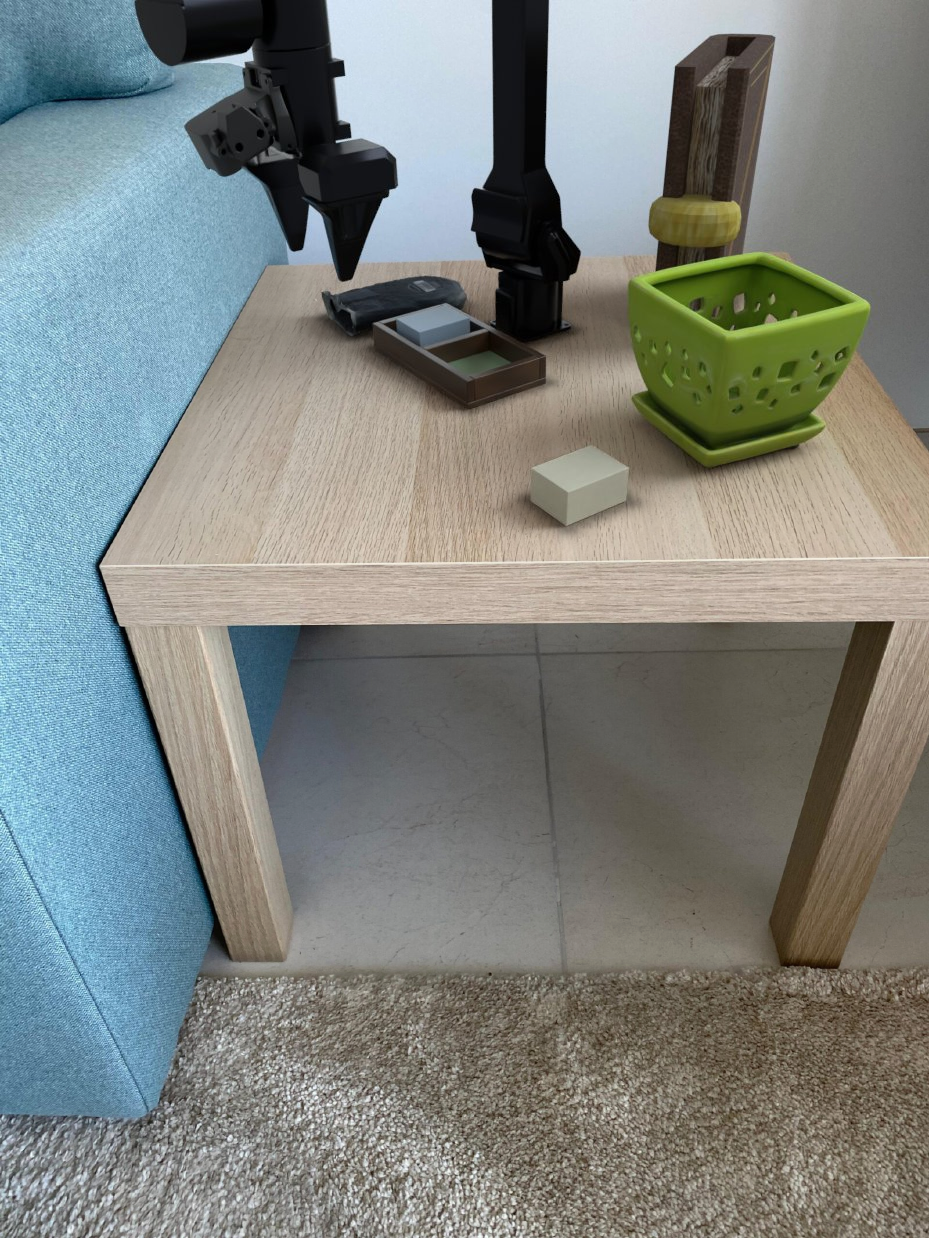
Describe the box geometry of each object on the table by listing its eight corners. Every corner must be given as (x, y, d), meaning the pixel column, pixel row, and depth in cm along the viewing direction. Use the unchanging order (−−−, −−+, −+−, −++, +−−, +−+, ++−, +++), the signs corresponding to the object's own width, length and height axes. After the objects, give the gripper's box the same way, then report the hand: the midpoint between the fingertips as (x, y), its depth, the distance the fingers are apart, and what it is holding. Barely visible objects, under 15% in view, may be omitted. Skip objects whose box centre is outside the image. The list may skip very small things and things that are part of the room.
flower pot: (612, 416, 84) (622, 274, 76) (740, 386, 88) (764, 248, 80) (701, 489, 74) (725, 334, 66) (842, 451, 78) (881, 300, 70)
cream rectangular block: (589, 477, 76) (591, 444, 74) (626, 501, 73) (629, 467, 71) (530, 501, 74) (530, 467, 72) (566, 526, 71) (567, 492, 69)
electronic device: (360, 356, 99) (482, 309, 103) (345, 305, 96) (471, 258, 100) (331, 338, 107) (446, 294, 111) (316, 290, 104) (435, 247, 107)
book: (675, 281, 110) (702, 33, 94) (748, 288, 108) (789, 34, 92) (630, 354, 94) (654, 71, 79) (716, 365, 92) (758, 75, 76)
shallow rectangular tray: (447, 328, 101) (446, 302, 100) (546, 383, 90) (546, 355, 88) (374, 349, 97) (371, 323, 96) (467, 409, 86) (467, 381, 84)
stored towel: (446, 333, 99) (445, 304, 97) (470, 346, 96) (469, 317, 94) (397, 347, 96) (395, 318, 94) (421, 361, 93) (419, 332, 91)
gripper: (141, 44, 70) (187, 256, 80) (235, 77, 58) (276, 323, 68) (278, 27, 75) (306, 230, 84) (392, 55, 62) (409, 289, 72)
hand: (320, 265), depth 77 cm, fingers open, 9 cm apart
